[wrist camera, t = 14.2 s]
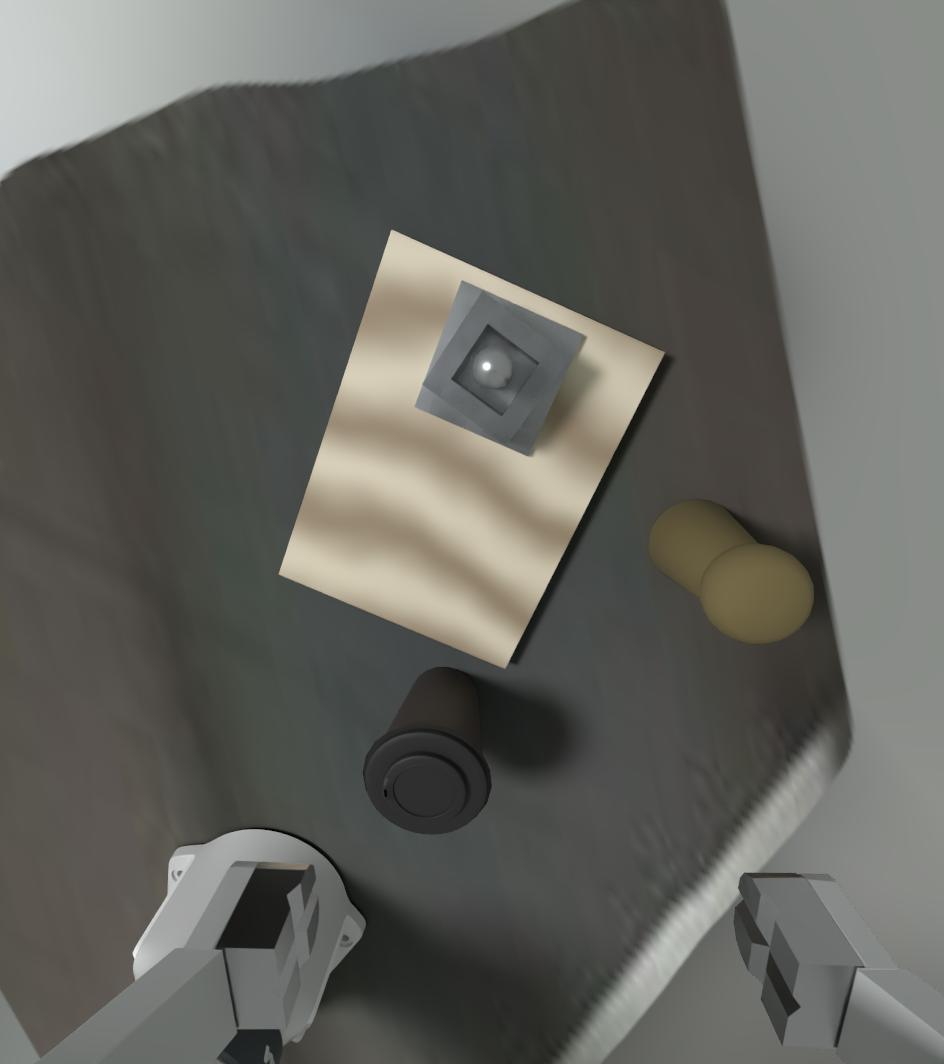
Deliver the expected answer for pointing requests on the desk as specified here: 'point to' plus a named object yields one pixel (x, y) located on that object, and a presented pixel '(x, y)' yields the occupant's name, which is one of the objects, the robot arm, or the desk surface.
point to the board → (454, 468)
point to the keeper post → (499, 369)
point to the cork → (731, 572)
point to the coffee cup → (431, 757)
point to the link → (463, 347)
